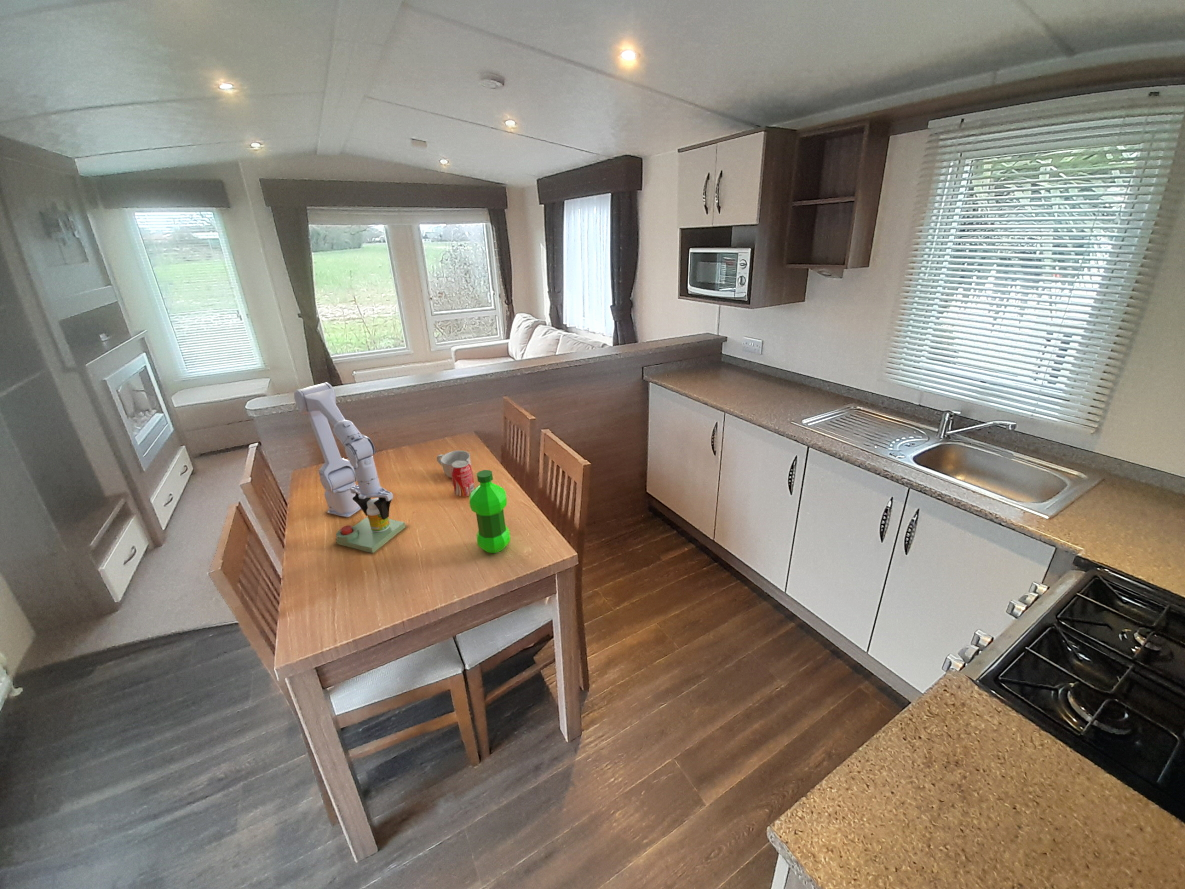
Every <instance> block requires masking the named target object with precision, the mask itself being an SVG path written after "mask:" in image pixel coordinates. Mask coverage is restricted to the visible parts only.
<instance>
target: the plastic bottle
mask: <svg viewBox="0 0 1185 889" xmlns="http://www.w3.org/2000/svg"><path fill="white" fill-rule="evenodd" d="M476 479H477V483H479V485H478V486H476V487H474V490H473V491H472V492H471V493H470V495H469V496H468V497H469V498H468V499H469V508H470V510H471V512H473V513H475V515H476V520H477V521H476V523H477V529H478V530H477V533H476V543H477V546H478V547H479V548H480V549H481V550H483V551H485V552H486V553H489V554H498V553H499V552H502V551H503V550H504V549H505V548H506V547H507V546H508V545H509V543H510V541H511V535H510V534H511V533H510V529H509V527H508V526H507V525H506V520H505V519H506V518H505V512H504V509H505V508H506V507H507V504H508V501H507V493H506V490H505V489H504V488H503V487H501V485H498V484H496V483H493V482H492V481H493V480H494V476H493V471H492V470H490V469H482V470H480V471H478V472H477V473H476Z"/></svg>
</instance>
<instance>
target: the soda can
mask: <svg viewBox="0 0 1185 889" xmlns="http://www.w3.org/2000/svg"><path fill="white" fill-rule="evenodd" d="M451 475H452V478H451V480H452V486H453V489H454V494H455V495H456V496H457V497H461V498H466V497H470V493H471V492H472V491H473V490H474V489H475V481H474V475H473V470H472V464H471V465H470V464H469V462H468V461H467V460H457V461H455V462H453V463H452V467H451Z"/></svg>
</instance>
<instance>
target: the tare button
mask: <svg viewBox="0 0 1185 889" xmlns="http://www.w3.org/2000/svg"><path fill="white" fill-rule="evenodd" d="M351 526H352V525H345V526H342V527H341V528H340V529H341V533H342V535H348V534H351V533H352V532H353V530H352V527H351Z"/></svg>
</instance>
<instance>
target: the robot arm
mask: <svg viewBox="0 0 1185 889" xmlns="http://www.w3.org/2000/svg"><path fill="white" fill-rule="evenodd" d="M293 399H294V402H295V404H296V406H297V410H298V412H299V413H300V415H303V416H307V418H308V420H309V423H310V425H311V428H312V431H313V434H314V436H315V439H316V441H317V444H318V447H319V449H320V452H321V455H322V458H323V460H324V462H323V464H322V465H321V467H320V468H319V469H318V475H319V481H320V483H321V485H322V487H323V489H324V490H325V491H324V498H325V501H326V505H327V508H328V510H327V511H326V512H327V514H331V515H334V516H339V517H343V518H350V517H351V516H353V515H354V514H356V513H357V512H359V511H360V510H362V513H364V515H365V516H366V517H368V516H367V509H368V506H367V502H368V501H369V500H371V499H374V498H379V499H378V500H377V501H375V502H374V504H375V505H376V507H377V508H378V510H379V512H380V515H381V518H382V519H383V520H385V519H386V518H388V519H389V518H390V507H391V503H392V500H393V499H394V494H393V492H391V491H389V490H387V489H385V488H384V487H382V486H381V482H380V480H379V476H378V471H377V467H376V462H375V459H374V456H375V455H376V447H375V445H374V442H373V441H372V440H371V438H370V437H369V436H366V435H365V434H362V433H361V432H360V430H359V429H358V428H357V426H356V425H355V424H354V423H353V421H351V420H348V419H346V418H345V417H344V416H343V414H342V411H341V410H340V409H339V407H338V406H337V404H336V403H337V395H336V392H335V390H334V387H333V385H331V384H330V383H329V382H323V383H320V384H315V385H312V386H307V387H304V388H300V389H298V388H297V389H295V390H294V393H293ZM329 423H330V424H331V425H332V426H333V430H332V429H331V425H330V424H329ZM334 435H335V436H336V438H337V439H338V440H339V442H340V443H341V445H342V446H343V447H344V452H345V455H346V457H347V458H344V457H343V458H342V456H341V453H340V451H339V447H338V444H337V442H336V439H335V437H334ZM356 482H357V484H356Z"/></svg>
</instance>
